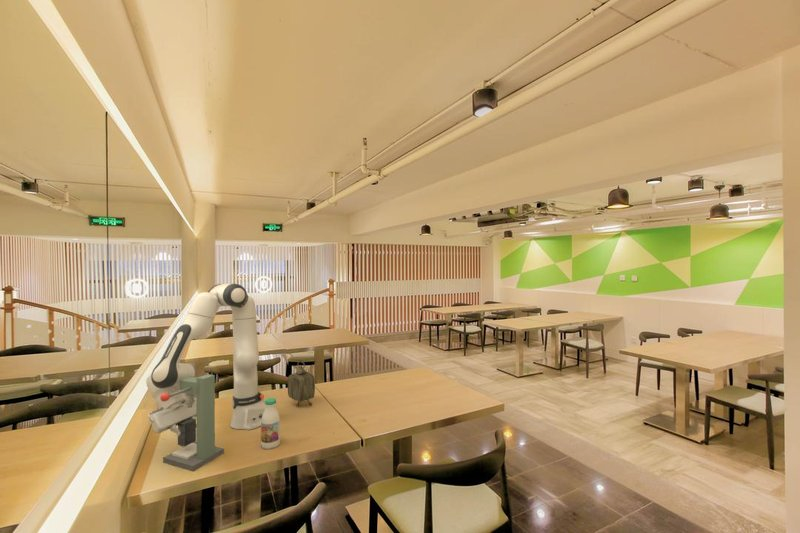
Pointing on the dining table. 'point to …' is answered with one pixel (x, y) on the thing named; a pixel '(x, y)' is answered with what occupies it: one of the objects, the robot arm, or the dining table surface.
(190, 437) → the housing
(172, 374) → the robot arm
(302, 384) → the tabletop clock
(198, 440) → the press
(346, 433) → the dining table surface
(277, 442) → the milk bottle
